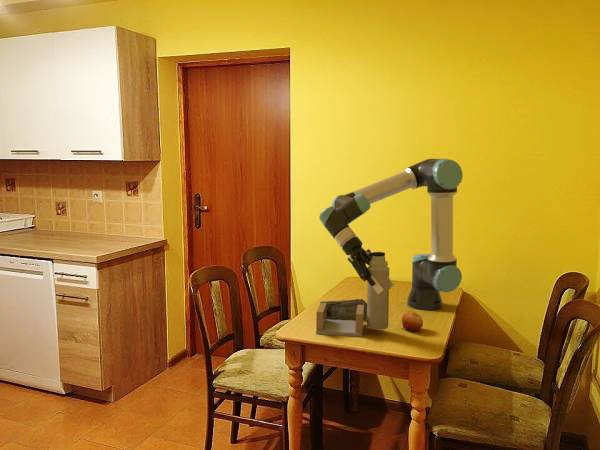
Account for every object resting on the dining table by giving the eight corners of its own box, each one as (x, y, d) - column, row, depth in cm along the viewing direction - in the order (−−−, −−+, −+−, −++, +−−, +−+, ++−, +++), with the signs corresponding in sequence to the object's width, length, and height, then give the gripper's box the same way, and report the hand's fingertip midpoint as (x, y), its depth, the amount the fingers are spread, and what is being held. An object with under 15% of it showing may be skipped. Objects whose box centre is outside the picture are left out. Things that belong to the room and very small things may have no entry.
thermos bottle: (388, 323, 196) (390, 250, 192) (387, 330, 188) (389, 255, 184) (367, 322, 197) (368, 250, 193) (365, 329, 190) (366, 254, 185)
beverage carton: (318, 314, 215) (318, 299, 214) (362, 312, 219) (363, 297, 218) (323, 320, 207) (323, 305, 206) (368, 318, 211) (369, 302, 210)
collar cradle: (363, 324, 203) (364, 304, 201) (361, 336, 189) (362, 315, 188) (320, 321, 205) (320, 301, 204) (315, 333, 192) (316, 312, 191)
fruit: (403, 320, 203) (413, 305, 200) (418, 334, 200) (429, 319, 196) (393, 325, 197) (403, 310, 193) (408, 340, 193) (419, 324, 190)
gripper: (356, 244, 206) (392, 289, 199) (328, 252, 189) (366, 302, 182) (368, 232, 202) (405, 277, 195) (340, 239, 186) (379, 289, 178)
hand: (386, 289), depth 188 cm, fingers closed on thermos bottle, 8 cm apart
